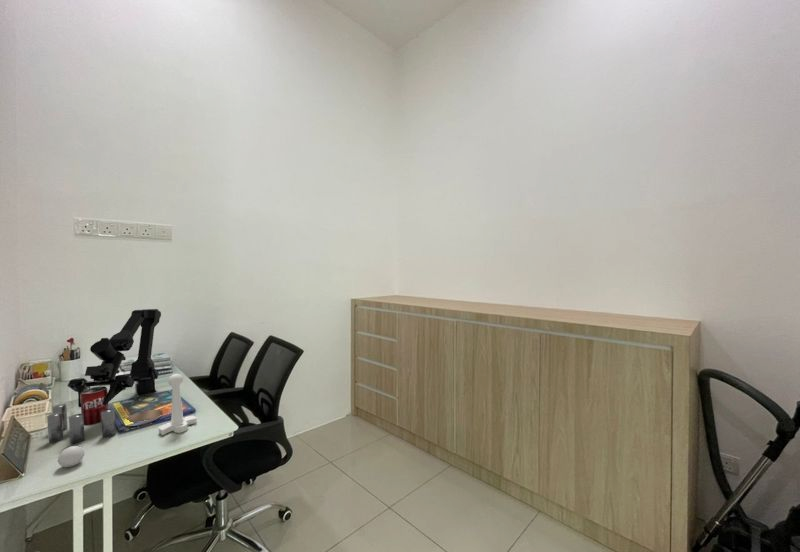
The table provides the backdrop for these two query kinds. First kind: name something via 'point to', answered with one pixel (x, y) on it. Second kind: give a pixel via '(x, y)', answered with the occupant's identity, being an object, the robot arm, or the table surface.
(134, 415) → the walnut pad
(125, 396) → the table surface
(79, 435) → the posts
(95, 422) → the soda can
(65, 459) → the white egg
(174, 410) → the joystick
